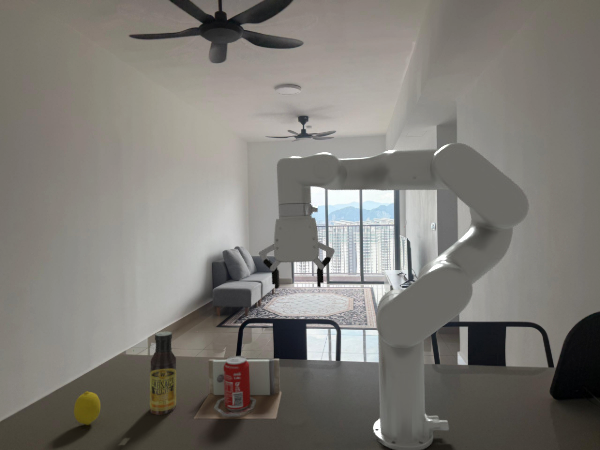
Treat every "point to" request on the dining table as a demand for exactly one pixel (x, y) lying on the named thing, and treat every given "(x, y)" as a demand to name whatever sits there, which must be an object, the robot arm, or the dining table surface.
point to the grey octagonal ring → (234, 414)
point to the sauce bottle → (163, 375)
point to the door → (259, 377)
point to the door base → (263, 408)
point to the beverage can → (236, 383)
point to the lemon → (87, 408)
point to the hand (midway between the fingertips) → (298, 286)
